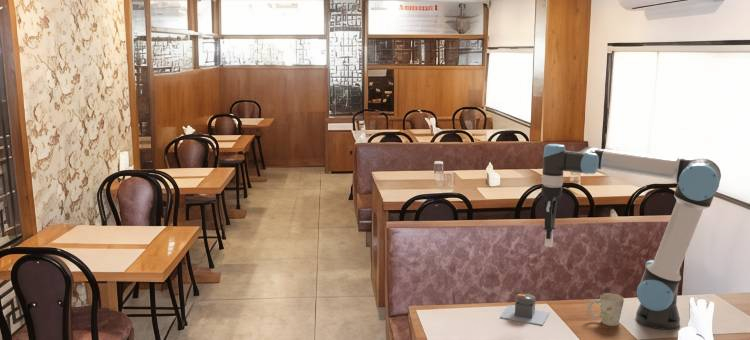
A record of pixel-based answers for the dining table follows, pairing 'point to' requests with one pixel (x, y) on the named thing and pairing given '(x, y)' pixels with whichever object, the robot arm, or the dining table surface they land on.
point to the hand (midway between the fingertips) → (548, 246)
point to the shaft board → (537, 318)
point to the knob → (525, 306)
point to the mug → (608, 308)
